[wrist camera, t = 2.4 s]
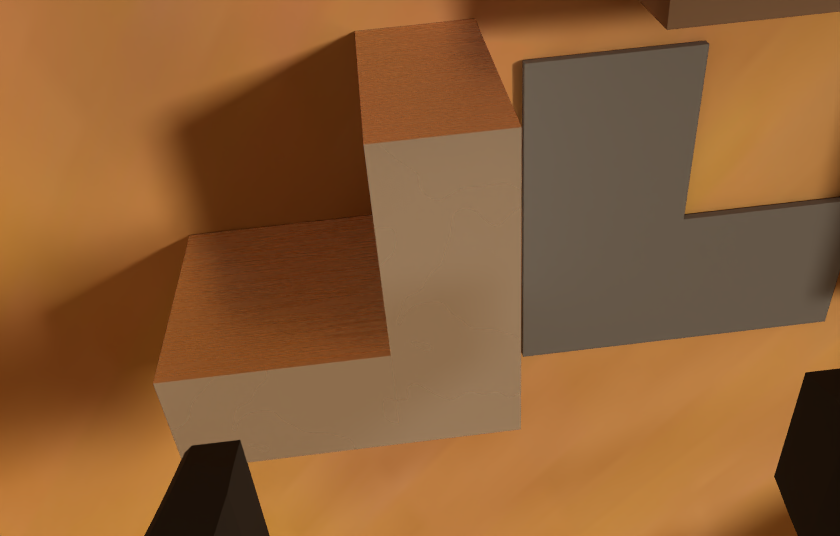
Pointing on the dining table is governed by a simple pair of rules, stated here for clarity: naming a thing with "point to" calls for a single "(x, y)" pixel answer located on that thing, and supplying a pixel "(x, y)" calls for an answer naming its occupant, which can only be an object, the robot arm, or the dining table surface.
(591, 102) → the L-shaped mat
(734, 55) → the dining table surface
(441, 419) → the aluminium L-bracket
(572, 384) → the dining table surface
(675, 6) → the corner jig
